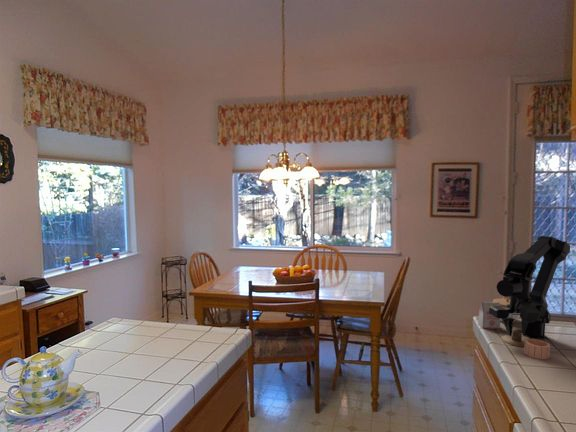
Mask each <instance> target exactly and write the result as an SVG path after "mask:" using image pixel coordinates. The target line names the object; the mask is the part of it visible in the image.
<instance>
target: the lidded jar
mask: <svg viewBox="0 0 576 432" xmlns="http://www.w3.org/2000/svg"><path fill="white" fill-rule="evenodd" d="M492 302H499V304H500V306H501V307H503V308H505V309H509V308H508V307H507V304H510V297H509V298H508V297H506V298H494V299H493V300H492ZM512 318H513V319H515V320H514V321H513V323H515V322H516V321H517V320H518V319H519V318H521V317H520V315H512ZM500 322H503V321H502V319H501V320H500Z"/></svg>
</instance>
